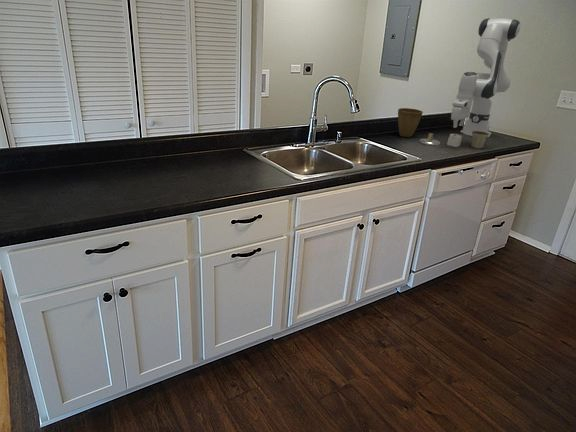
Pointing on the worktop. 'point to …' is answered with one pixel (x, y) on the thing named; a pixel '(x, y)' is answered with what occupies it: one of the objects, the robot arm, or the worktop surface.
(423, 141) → the pot lid
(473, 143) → the flower pot
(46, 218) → the worktop surface
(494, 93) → the robot arm
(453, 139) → the knob
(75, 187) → the worktop surface
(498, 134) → the worktop surface
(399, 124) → the plant pot
